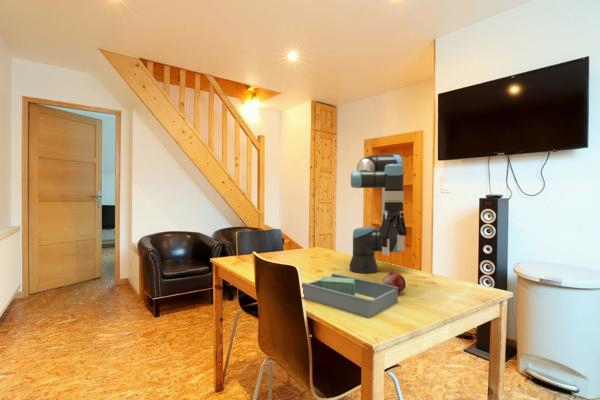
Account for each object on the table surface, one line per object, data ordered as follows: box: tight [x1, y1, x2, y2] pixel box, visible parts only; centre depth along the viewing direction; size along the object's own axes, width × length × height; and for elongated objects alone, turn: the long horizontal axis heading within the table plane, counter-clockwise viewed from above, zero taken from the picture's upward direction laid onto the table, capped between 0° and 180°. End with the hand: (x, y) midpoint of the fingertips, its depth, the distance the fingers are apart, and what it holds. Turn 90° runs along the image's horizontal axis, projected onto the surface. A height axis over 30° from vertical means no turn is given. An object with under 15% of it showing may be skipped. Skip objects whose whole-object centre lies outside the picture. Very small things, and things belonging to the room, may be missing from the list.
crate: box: [301, 273, 399, 319], centre depth 121 cm, size 21×30×6 cm
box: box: [319, 276, 356, 296], centre depth 124 cm, size 7×14×8 cm, turn 78°
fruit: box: [382, 269, 407, 294], centre depth 130 cm, size 9×10×10 cm
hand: (393, 252), depth 130 cm, fingers open, 13 cm apart
